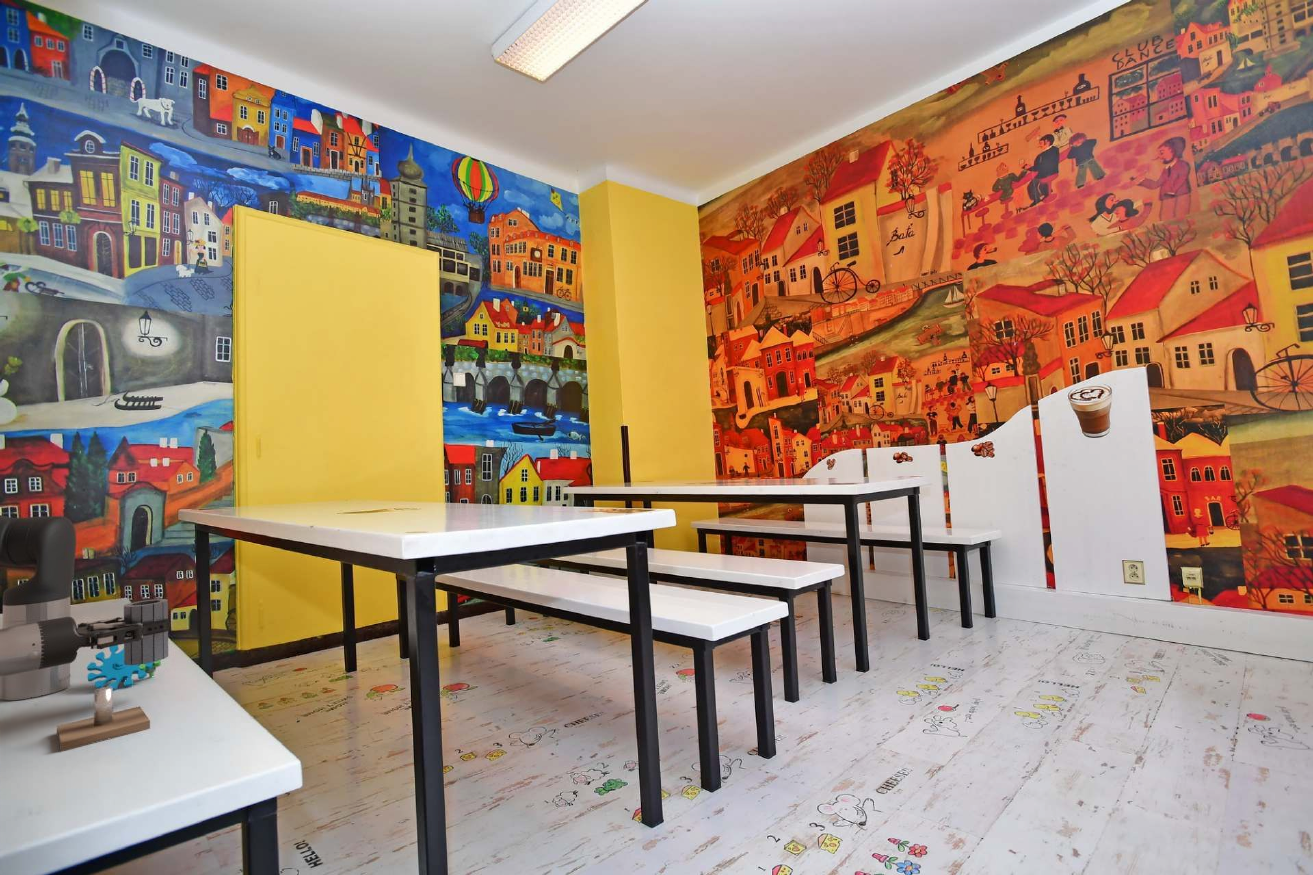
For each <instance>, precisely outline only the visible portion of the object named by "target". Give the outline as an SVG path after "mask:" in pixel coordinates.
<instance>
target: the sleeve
mask: <svg viewBox="0 0 1313 875" xmlns="http://www.w3.org/2000/svg"><path fill="white" fill-rule="evenodd" d="M168 601H169V600H168V599H167V598H157V599H148V600H140V601H139V600H138V601H135V602H129V603H126V604H124V605H123V618H124V622H126V623H127V624H135V623H139V622H141V623H144V622H149V621H155V620H160V619H169V602H168ZM126 634H127V636H131V635H133V630H131V631H126ZM123 648H124V664H125V665H140V664H146V663H151V662H156V661H159V660H161V661H162V660H165V659H167V658H168V657H169V631H167V632H162V633H157V634H152V635H147V636H143V638H142V640H139V641H134V642H130V643H125V644H123Z"/></svg>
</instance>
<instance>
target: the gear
mask: <svg viewBox="0 0 1313 875" xmlns="http://www.w3.org/2000/svg"><path fill="white" fill-rule="evenodd" d="M108 648H109V652H110V656H109V657H108V658H105V657H106V655H105V653H104V651H101V652H98V653H97V654H95V655H94V656H95V659H96V660H97V661H100V662H102V664H101V665H99V666H98V665H97V664H96V662H94V661H91V662H90V663H89V664H88V665H87V666H86V669H87V671H89V673H87V677H86V678H87V682H93V681H95V680H96V681H95V682H94V683H93V684H94V687H95V688H96V689H100V688H104V686H105V685H106V684H108V683H109V684H108V685H107V687H113V691H117V689H118V686H119V685H120V683H121V682H123V686H124V688H128V687H129V686H130V687H132V686H133V685H134V681H133V679H132V677H133V675H137V678H138V680H142V679H144V678H146V677H147V676H149V678H150V677H152V676H154V677H155V671H157V670H156V669H157V668H159V667H160V666H161V665H162V660H159V661H156V662H151V663H146V664H140V665H125V664H124V647H123V649H122V650H120V651H119V645H116V646H112V647H108ZM118 651H119V652H118ZM92 671H99V672H100V673H95V672H92ZM147 674H148V675H147ZM103 678H104V679H103ZM152 678H153V677H152ZM98 679H99V680H98ZM100 679H102V680H100ZM124 680H126V681H124ZM112 681H113V682H112ZM110 682H111V683H110Z"/></svg>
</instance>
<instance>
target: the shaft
mask: <svg viewBox="0 0 1313 875" xmlns="http://www.w3.org/2000/svg"><path fill="white" fill-rule="evenodd" d="M113 713H114V690H113V687H108V686H105V687H104V686H103V687H102V688H100V689H97V688H96V689H94V690H93V717H94V726H102V725H106V724H109V723H111V722H113Z"/></svg>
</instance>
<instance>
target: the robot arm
mask: <svg viewBox="0 0 1313 875" xmlns="http://www.w3.org/2000/svg"><path fill="white" fill-rule="evenodd" d="M76 548H77V532H76V528H75V526H74V524H73V522H72V520H71V519H70V518H68V517H66V516H64V515H62V516H61V515H55V516H54V515H50V516H47V515H45V516H35V517H34V516H31V517H30V516H29V517H10V516H6V515H5V516H4V515H1V514H0V564H1V565H4V566H8V567H26V566H36V568H35V573H34V574H33V576H32V577H30V578H29V579H27V580H25V581H24V582H21V583H19V584H17V585H13V586H11V587H8V588H6V589H5V590H4V592H3V593H2V628H0V700H3V701H4V700H5V701H17V700H24V699H31V697H32V698H36V697H42V696H45V695H50V694H53V693H56V692H59V691H62V690H65V689H67V688H69V687H70V686H71V663H74V662H75V660H76V659H77V657H78V650H79V649H80V648H90V650H95V649H96V650H103V649H106V648H109V647H112V646H116V645H118V646H121V645H124V644H125V643H130V642H134V641H139V640H142V638H143V636H147V635H152V634H157V633H162V632H167V631H168V632H169V631H170V629H171V622H170V619H169V618H168V619H160V620H155V621H149V622H144V623H141V622H139V623H135V624H127V623H126V622H124V617H120V616H118V617H114V618H107V619H101V620H96V621H90V622H88V621H87V622H80V623H77V622H76V620H75V619H74V618H73V617H72V616H71V590H72V589H71V588H72V587H73V582H74V579H75V578H74V576H75V563H76V562H75V560H76ZM131 630H133V635H131V636H127V634H126V631H131ZM41 695H42V696H41Z"/></svg>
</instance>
